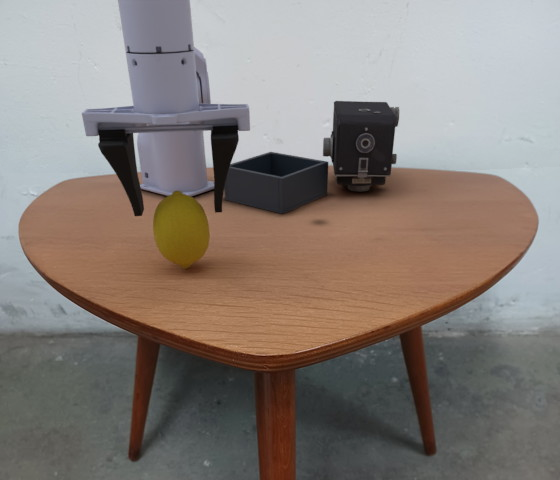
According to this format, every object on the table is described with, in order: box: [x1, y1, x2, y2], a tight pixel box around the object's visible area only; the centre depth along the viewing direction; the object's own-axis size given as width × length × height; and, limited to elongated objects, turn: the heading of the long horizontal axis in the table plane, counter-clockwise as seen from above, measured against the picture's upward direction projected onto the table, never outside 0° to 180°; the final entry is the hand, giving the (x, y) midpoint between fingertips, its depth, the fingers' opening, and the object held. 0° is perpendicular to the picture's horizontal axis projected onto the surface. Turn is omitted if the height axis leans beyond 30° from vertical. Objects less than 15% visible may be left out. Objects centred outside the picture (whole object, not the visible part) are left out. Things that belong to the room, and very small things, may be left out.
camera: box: [322, 100, 400, 192], centre depth 79 cm, size 11×11×15 cm
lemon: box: [152, 191, 211, 270], centre depth 55 cm, size 6×6×8 cm
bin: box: [224, 151, 329, 215], centre depth 76 cm, size 10×10×4 cm
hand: (179, 211), depth 54 cm, fingers open, 7 cm apart
